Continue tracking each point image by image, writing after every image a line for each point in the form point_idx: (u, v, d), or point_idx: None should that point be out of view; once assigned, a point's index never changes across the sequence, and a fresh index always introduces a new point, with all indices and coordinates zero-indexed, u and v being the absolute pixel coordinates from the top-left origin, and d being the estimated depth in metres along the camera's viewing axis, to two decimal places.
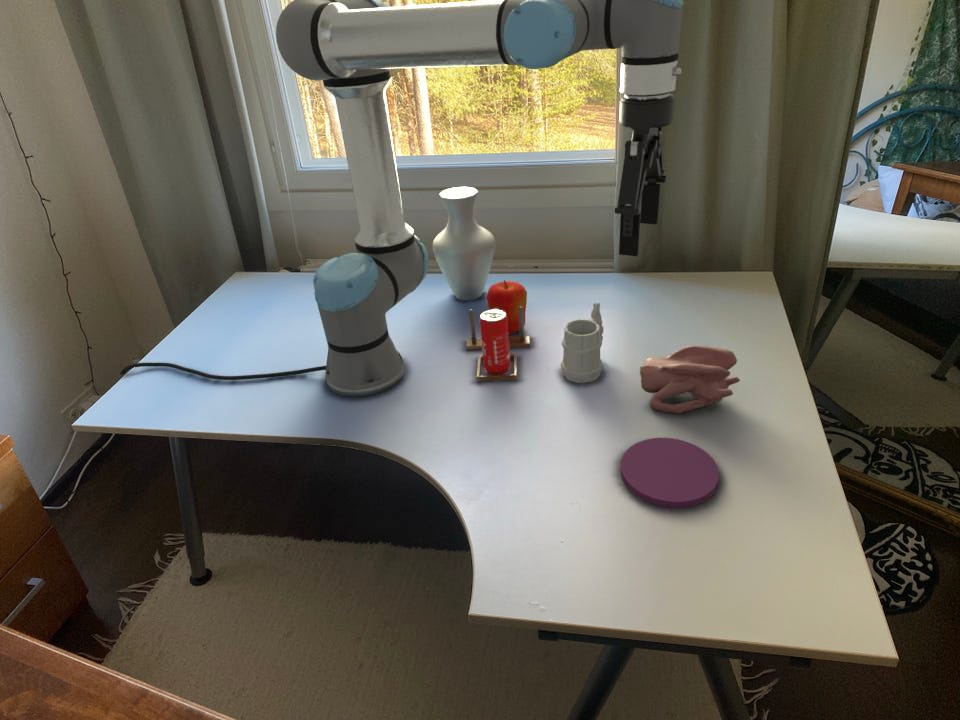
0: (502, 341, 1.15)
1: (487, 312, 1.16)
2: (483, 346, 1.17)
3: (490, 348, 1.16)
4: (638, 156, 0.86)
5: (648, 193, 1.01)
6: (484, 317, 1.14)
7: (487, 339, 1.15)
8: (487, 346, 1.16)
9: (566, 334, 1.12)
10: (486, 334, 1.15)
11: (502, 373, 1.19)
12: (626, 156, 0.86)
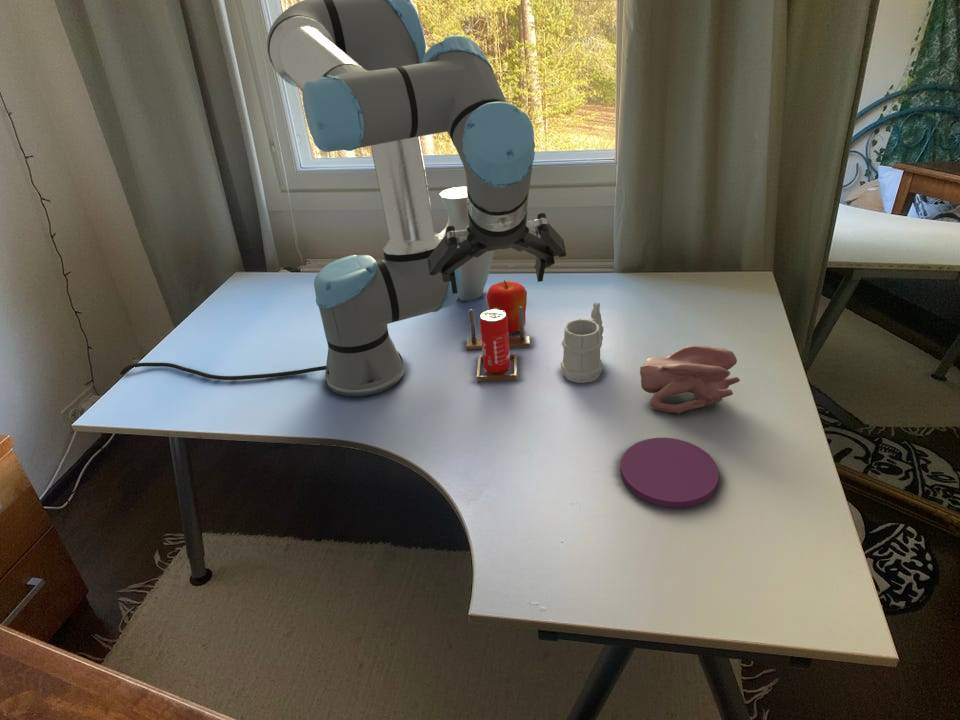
0: (502, 341, 1.15)
1: (487, 312, 1.16)
2: (483, 346, 1.17)
3: (490, 348, 1.16)
4: (447, 246, 0.85)
5: (538, 257, 0.94)
6: (484, 317, 1.14)
7: (487, 339, 1.15)
8: (487, 346, 1.16)
9: (566, 334, 1.12)
10: (486, 334, 1.15)
11: (502, 373, 1.19)
12: (445, 235, 0.85)
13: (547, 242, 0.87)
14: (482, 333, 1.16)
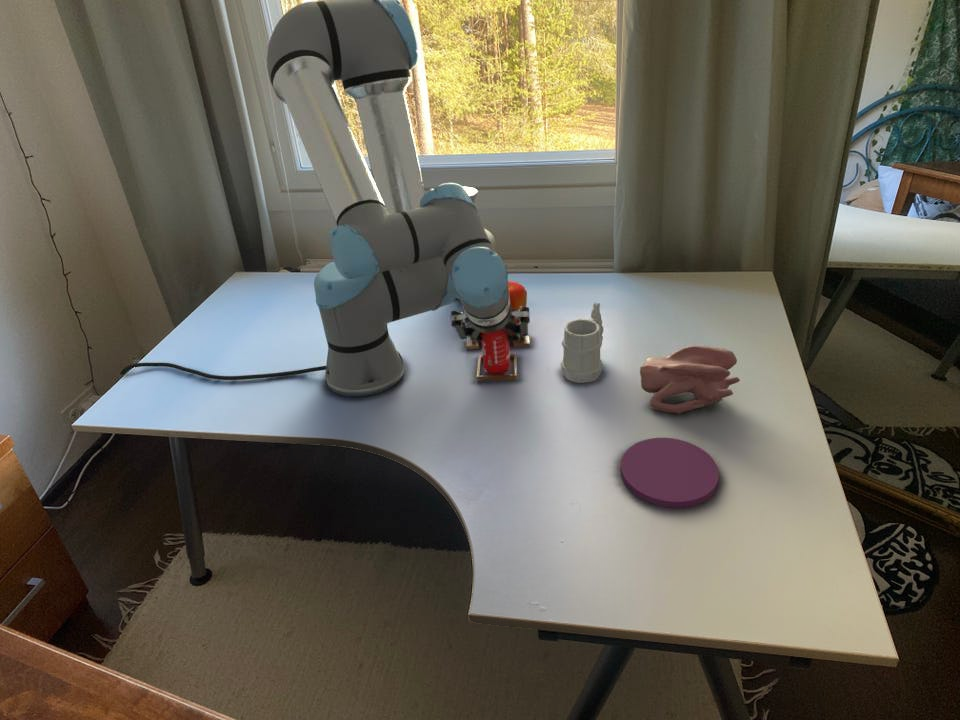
0: (502, 341, 1.15)
1: None
2: (483, 346, 1.17)
3: (489, 348, 1.16)
4: None
5: None
6: None
7: (487, 339, 1.15)
8: (487, 346, 1.16)
9: (566, 334, 1.12)
10: (486, 334, 1.15)
11: (502, 373, 1.19)
12: None
13: (521, 327, 1.09)
14: (482, 333, 1.16)
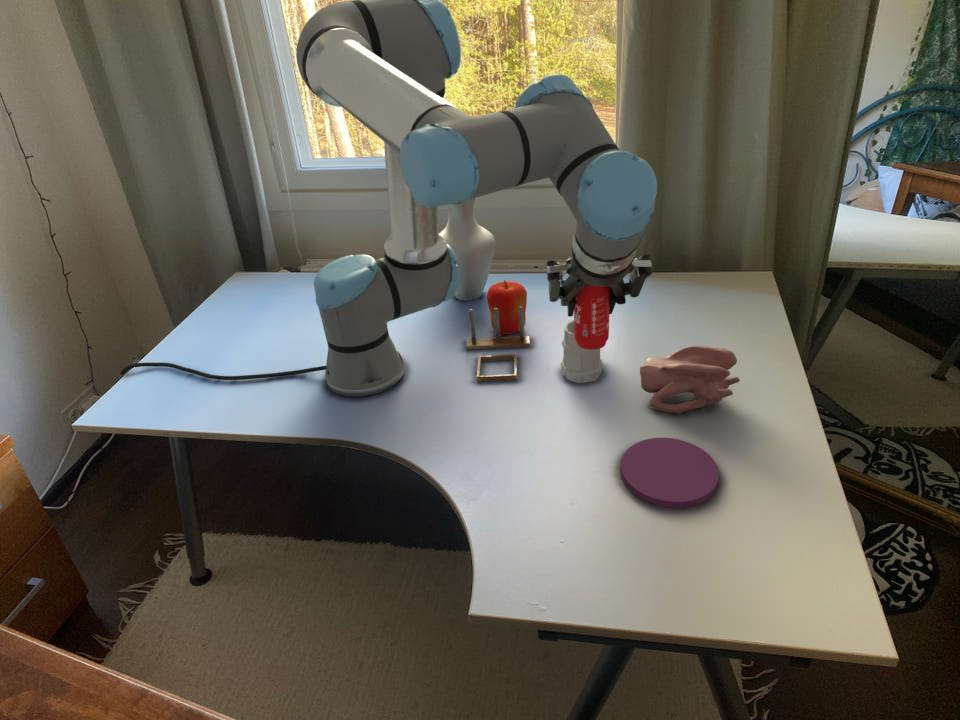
0: (604, 304, 0.90)
1: None
2: (577, 311, 0.91)
3: (586, 314, 0.91)
4: None
5: None
6: None
7: (584, 302, 0.90)
8: (583, 311, 0.91)
9: (566, 334, 1.12)
10: (584, 295, 0.89)
11: (599, 346, 0.94)
12: None
13: (637, 283, 0.83)
14: (577, 294, 0.90)
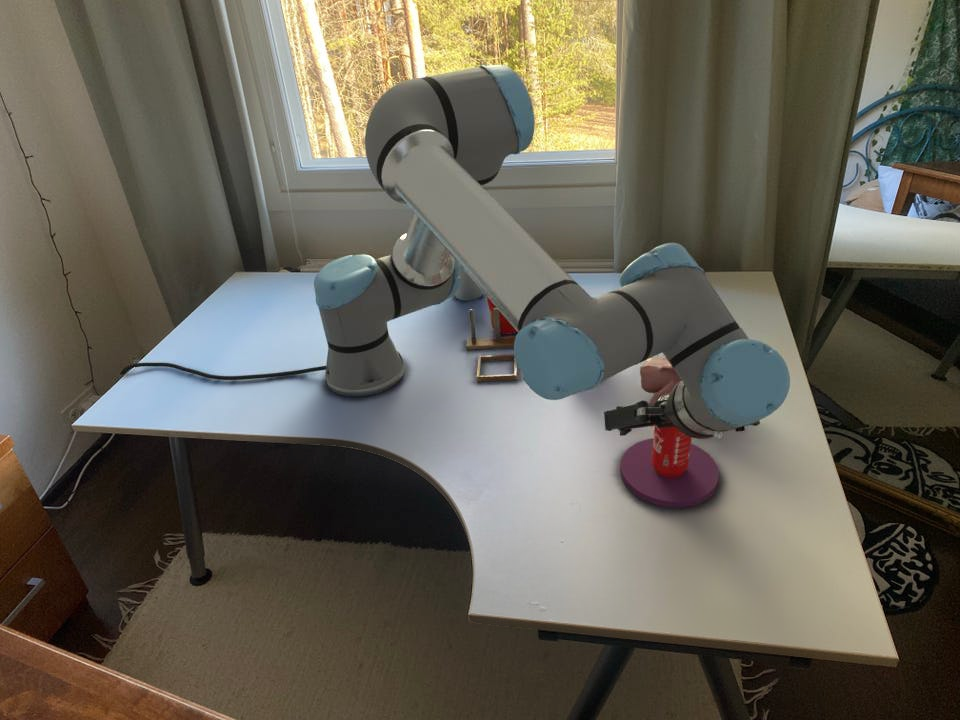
0: (687, 437, 0.87)
1: (666, 398, 0.88)
2: (659, 442, 0.88)
3: (669, 446, 0.87)
4: (636, 419, 0.78)
5: None
6: None
7: (668, 435, 0.87)
8: (666, 443, 0.88)
9: None
10: (668, 428, 0.86)
11: (679, 475, 0.91)
12: (635, 406, 0.78)
13: None
14: None
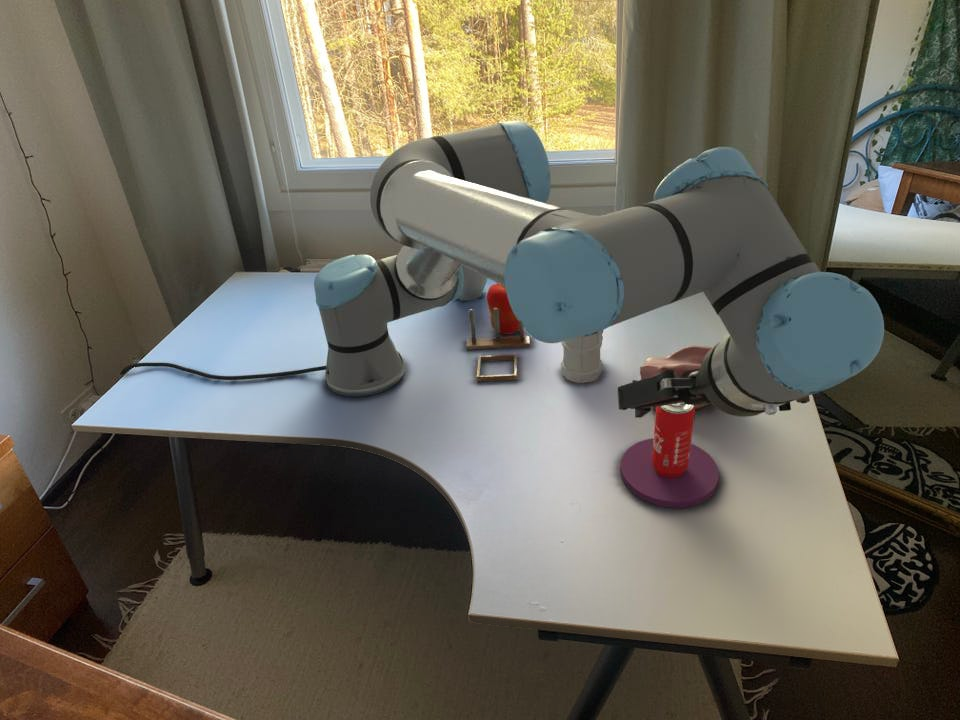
0: (687, 437, 0.87)
1: None
2: (659, 442, 0.88)
3: (669, 446, 0.87)
4: (659, 393, 0.62)
5: None
6: (665, 406, 0.86)
7: (668, 435, 0.87)
8: (666, 443, 0.88)
9: None
10: (668, 428, 0.86)
11: (679, 475, 0.91)
12: (657, 377, 0.63)
13: None
14: (660, 426, 0.87)
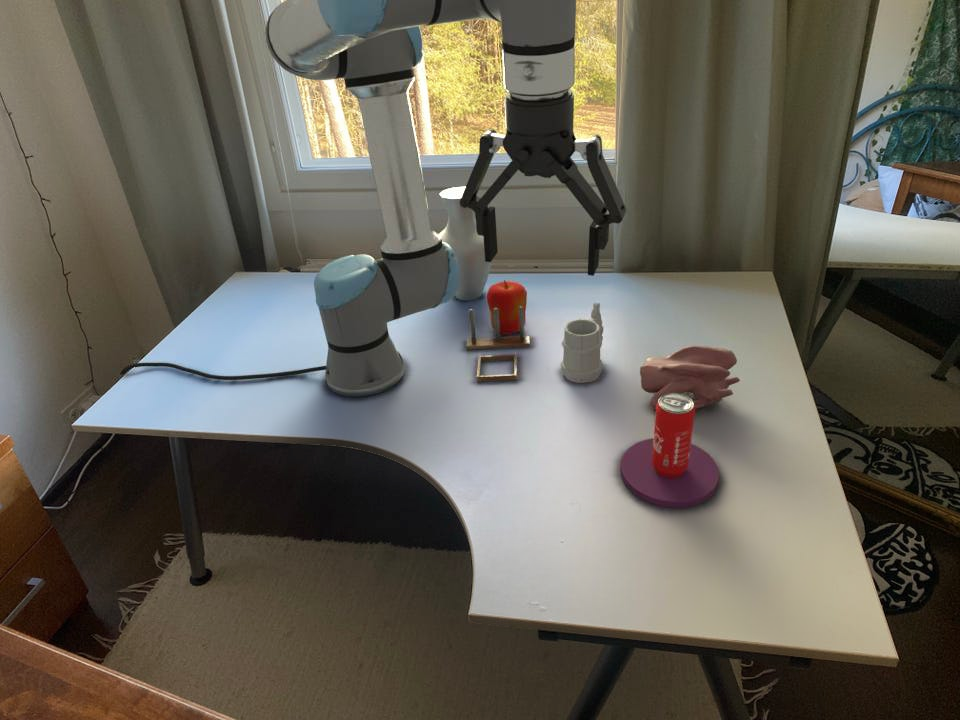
0: (687, 437, 0.87)
1: (666, 398, 0.88)
2: (659, 442, 0.88)
3: (669, 446, 0.87)
4: None
5: None
6: (665, 406, 0.86)
7: (668, 435, 0.87)
8: (666, 443, 0.88)
9: (566, 334, 1.12)
10: (668, 428, 0.86)
11: (679, 475, 0.91)
12: None
13: (596, 178, 0.70)
14: (660, 426, 0.87)
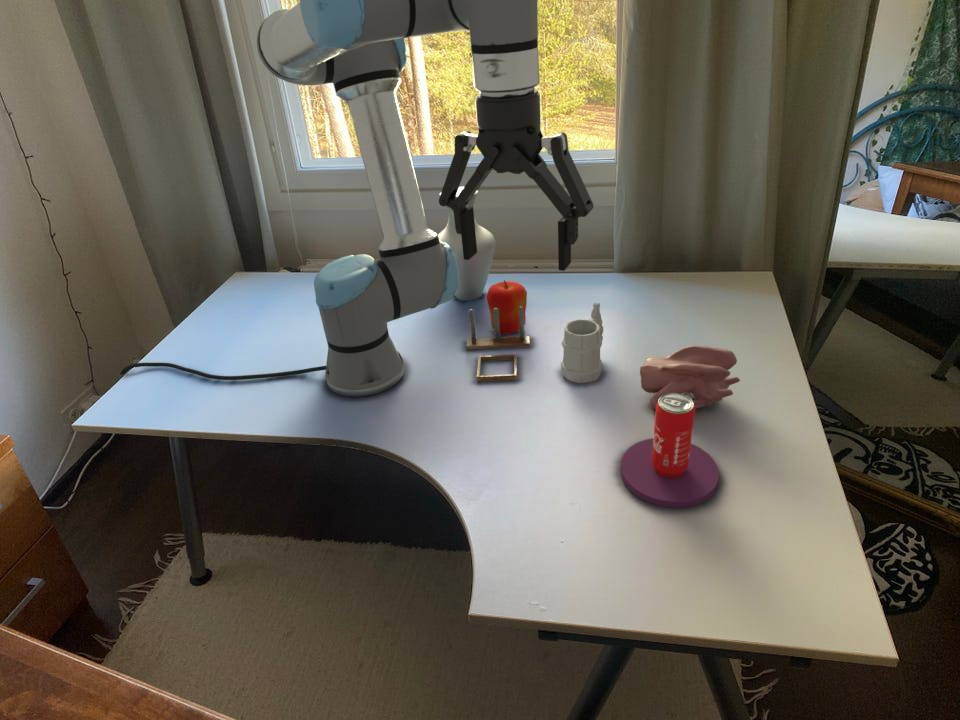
0: (687, 437, 0.87)
1: (666, 398, 0.88)
2: (659, 442, 0.88)
3: (669, 446, 0.87)
4: None
5: None
6: (665, 406, 0.86)
7: (668, 435, 0.87)
8: (666, 443, 0.88)
9: (566, 334, 1.12)
10: (668, 428, 0.86)
11: (679, 475, 0.91)
12: None
13: (561, 172, 0.73)
14: (660, 426, 0.87)
